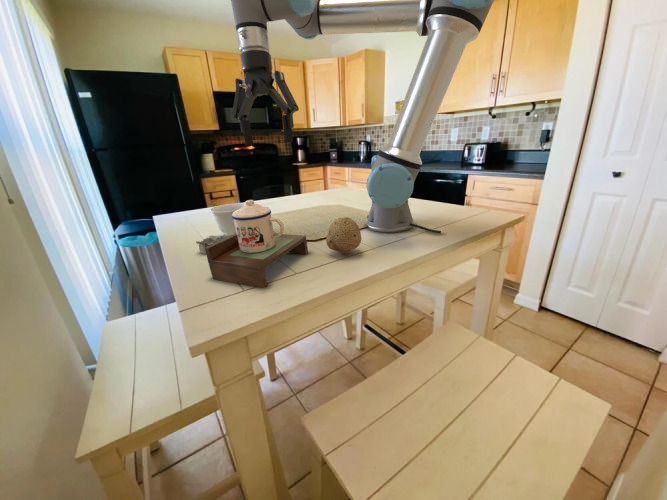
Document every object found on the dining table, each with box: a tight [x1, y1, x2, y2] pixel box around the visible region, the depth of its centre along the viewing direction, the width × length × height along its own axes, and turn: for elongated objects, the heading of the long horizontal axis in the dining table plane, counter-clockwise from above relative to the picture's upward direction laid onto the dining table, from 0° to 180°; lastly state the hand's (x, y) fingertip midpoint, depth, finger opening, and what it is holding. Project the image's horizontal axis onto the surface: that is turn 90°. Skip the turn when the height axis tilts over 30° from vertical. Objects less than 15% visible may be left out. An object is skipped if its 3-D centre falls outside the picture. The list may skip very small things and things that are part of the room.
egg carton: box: [195, 234, 233, 255], centre depth 82 cm, size 11×8×4 cm
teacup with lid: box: [232, 199, 285, 253], centre depth 65 cm, size 12×9×12 cm
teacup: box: [209, 202, 246, 235], centre depth 92 cm, size 12×15×10 cm
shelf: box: [205, 232, 309, 289], centre depth 68 cm, size 15×20×8 cm
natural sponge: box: [325, 216, 362, 255], centre depth 71 cm, size 9×9×10 cm
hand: (268, 143), depth 76 cm, fingers open, 13 cm apart
